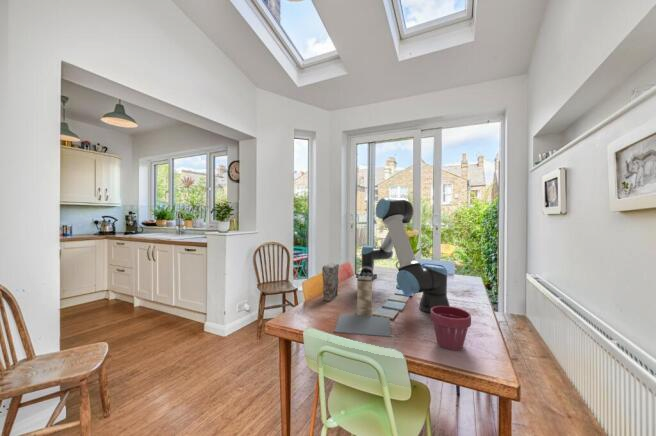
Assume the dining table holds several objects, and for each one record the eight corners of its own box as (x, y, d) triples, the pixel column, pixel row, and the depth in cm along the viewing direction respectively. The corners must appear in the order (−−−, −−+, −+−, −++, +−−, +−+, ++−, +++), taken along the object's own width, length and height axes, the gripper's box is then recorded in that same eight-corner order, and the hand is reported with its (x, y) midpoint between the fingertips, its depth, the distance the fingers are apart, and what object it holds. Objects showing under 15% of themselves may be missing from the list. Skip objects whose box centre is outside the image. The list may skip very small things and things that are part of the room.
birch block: (371, 311, 138) (371, 276, 137) (371, 316, 131) (371, 280, 131) (358, 310, 139) (358, 276, 139) (357, 315, 132) (357, 279, 132)
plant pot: (464, 337, 109) (464, 306, 108) (476, 355, 95) (476, 320, 95) (427, 334, 112) (427, 304, 111) (433, 351, 98) (434, 317, 98)
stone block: (333, 301, 152) (333, 267, 152) (322, 300, 154) (322, 266, 154) (339, 294, 165) (339, 262, 164) (328, 293, 167) (328, 262, 166)
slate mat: (389, 317, 129) (389, 317, 129) (391, 337, 109) (391, 336, 109) (340, 314, 133) (340, 313, 133) (333, 332, 114) (333, 331, 114)
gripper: (377, 279, 166) (377, 290, 143) (356, 278, 168) (352, 289, 145) (377, 267, 166) (377, 276, 142) (356, 266, 168) (352, 275, 145)
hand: (364, 283), depth 144 cm, fingers closed
